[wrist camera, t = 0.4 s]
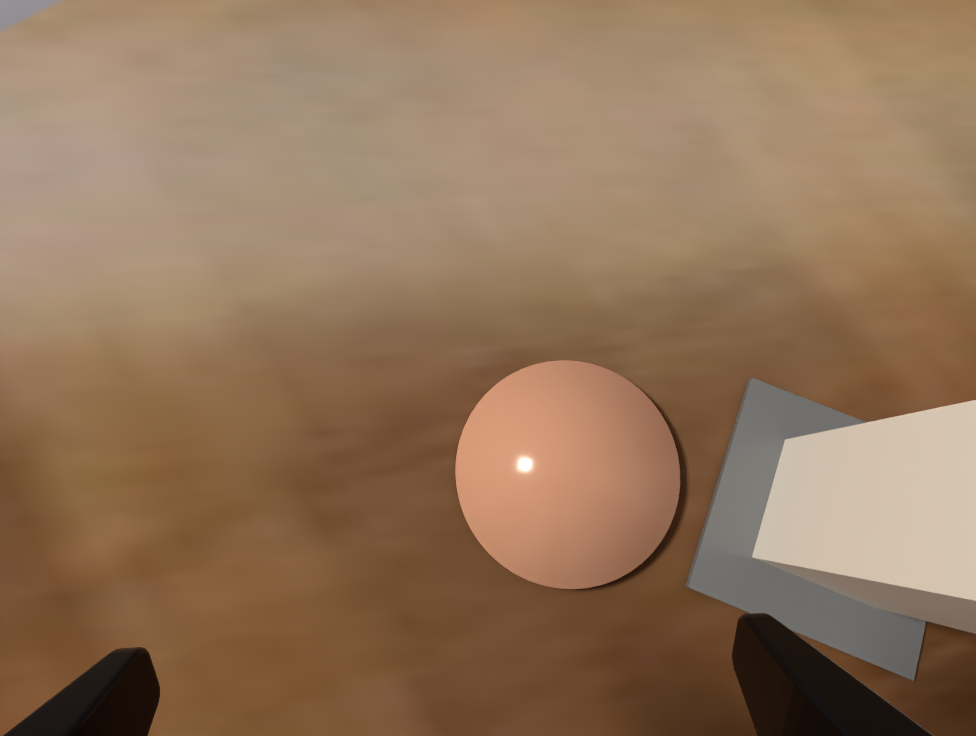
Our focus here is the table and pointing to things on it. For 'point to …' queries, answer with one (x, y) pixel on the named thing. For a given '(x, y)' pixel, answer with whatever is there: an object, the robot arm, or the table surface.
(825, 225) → the table surface
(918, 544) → the ivory block
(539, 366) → the peach dome
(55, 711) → the robot arm
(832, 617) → the gray tile
